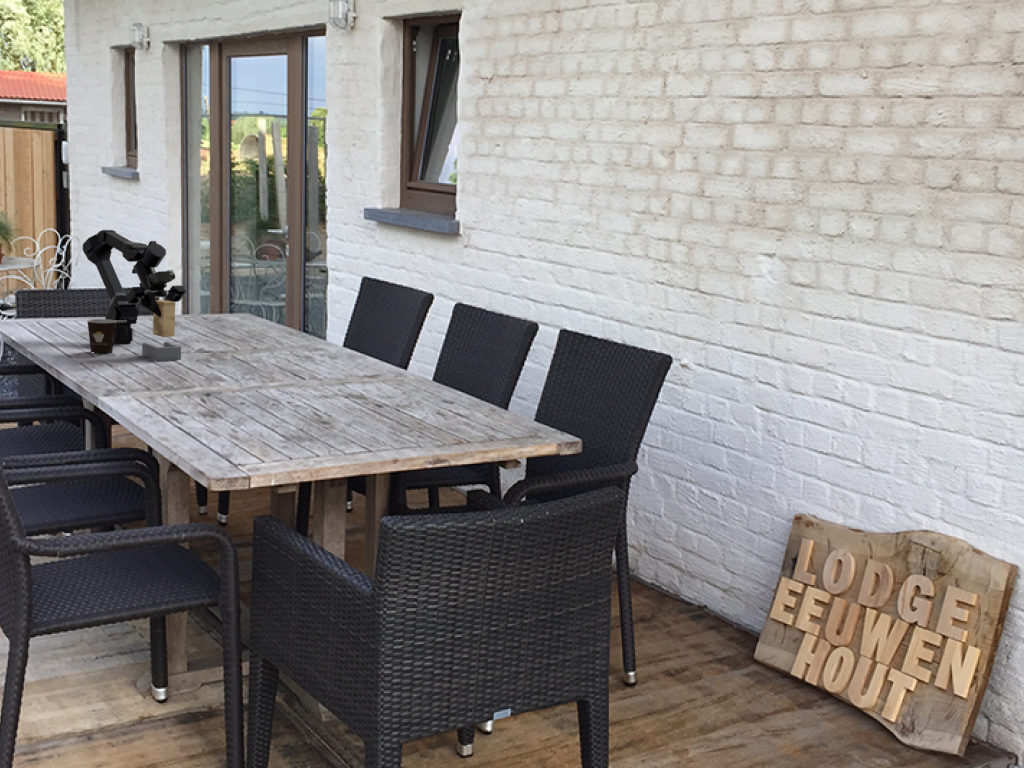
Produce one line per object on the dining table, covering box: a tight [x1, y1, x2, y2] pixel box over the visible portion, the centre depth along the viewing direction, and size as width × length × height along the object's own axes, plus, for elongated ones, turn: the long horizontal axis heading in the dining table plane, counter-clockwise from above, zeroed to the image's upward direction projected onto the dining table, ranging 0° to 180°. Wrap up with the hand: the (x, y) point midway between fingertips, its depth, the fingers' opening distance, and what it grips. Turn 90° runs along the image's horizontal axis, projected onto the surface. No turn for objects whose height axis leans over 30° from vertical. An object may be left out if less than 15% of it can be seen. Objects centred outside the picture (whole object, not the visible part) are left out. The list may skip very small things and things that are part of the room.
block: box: [152, 299, 176, 338], centre depth 384 cm, size 6×4×11 cm, turn 48°
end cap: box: [141, 341, 182, 362], centre depth 379 cm, size 10×8×4 cm
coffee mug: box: [87, 318, 128, 354], centre depth 380 cm, size 12×9×10 cm
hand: (166, 315), depth 383 cm, fingers closed on block, 4 cm apart
